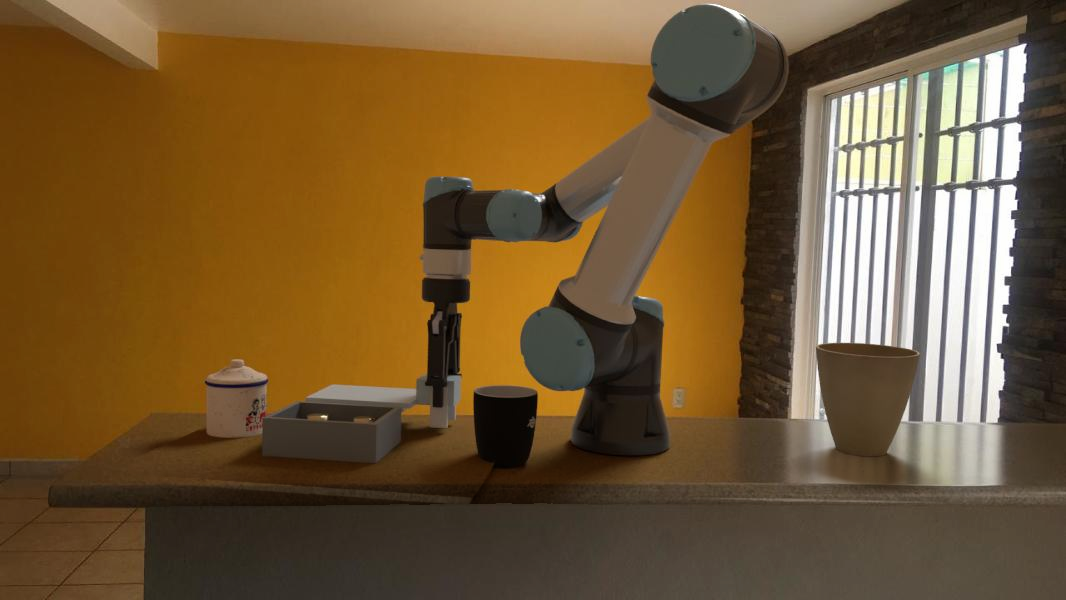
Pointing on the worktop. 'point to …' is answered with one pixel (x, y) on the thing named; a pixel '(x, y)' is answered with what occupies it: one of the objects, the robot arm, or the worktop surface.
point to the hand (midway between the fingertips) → (442, 422)
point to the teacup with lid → (236, 401)
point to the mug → (505, 423)
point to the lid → (386, 394)
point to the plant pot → (865, 393)
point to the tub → (331, 432)
